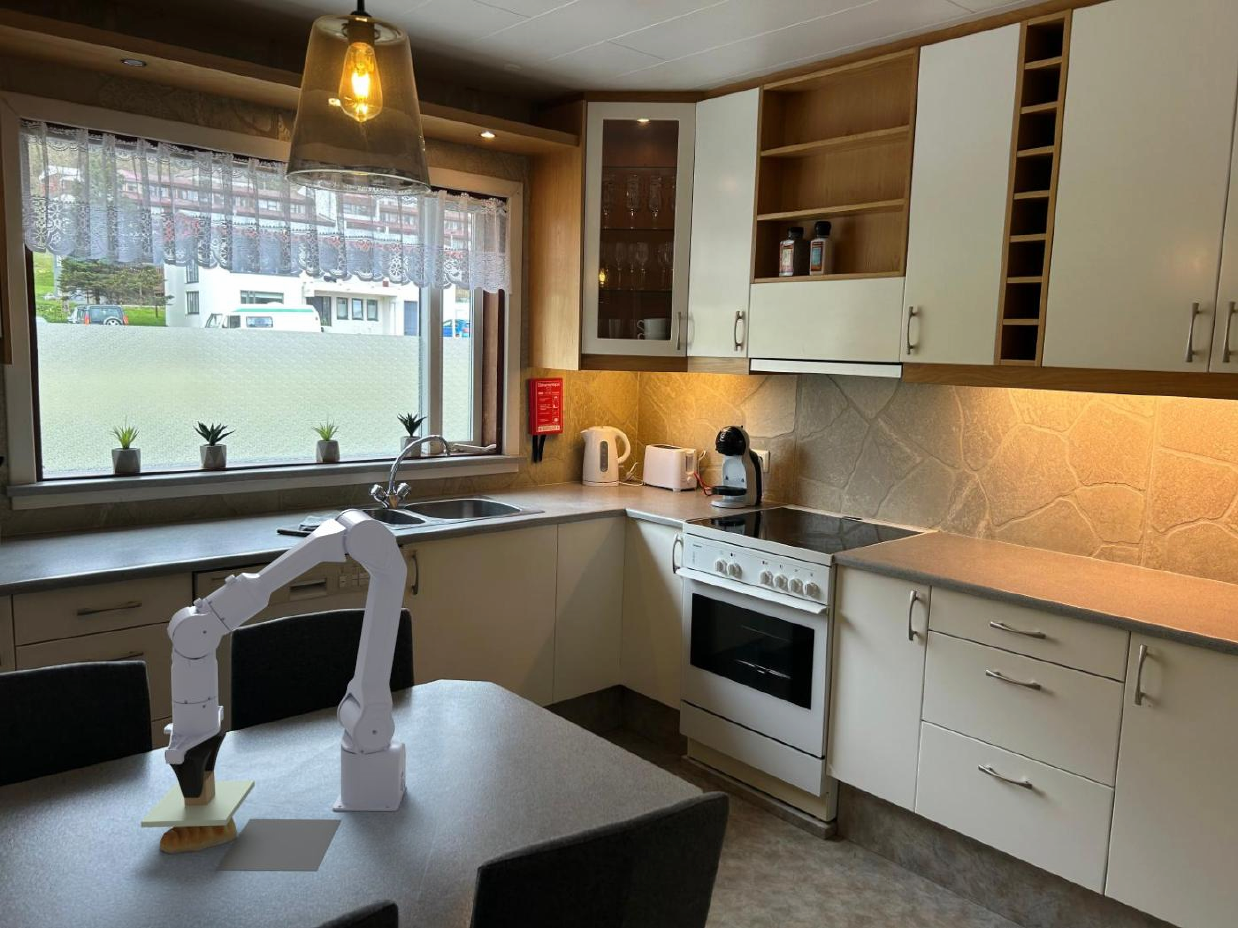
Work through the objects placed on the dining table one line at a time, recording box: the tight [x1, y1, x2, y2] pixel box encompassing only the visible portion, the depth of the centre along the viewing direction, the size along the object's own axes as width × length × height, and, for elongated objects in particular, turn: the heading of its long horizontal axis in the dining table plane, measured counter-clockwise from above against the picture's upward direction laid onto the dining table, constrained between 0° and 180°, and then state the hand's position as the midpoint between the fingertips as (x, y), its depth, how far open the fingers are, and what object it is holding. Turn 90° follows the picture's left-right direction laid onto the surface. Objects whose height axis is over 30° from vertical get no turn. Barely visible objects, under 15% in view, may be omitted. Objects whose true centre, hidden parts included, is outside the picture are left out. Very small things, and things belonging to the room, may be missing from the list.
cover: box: [140, 770, 256, 828], centre depth 126 cm, size 11×11×4 cm
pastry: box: [159, 816, 238, 855], centre depth 126 cm, size 9×7×4 cm
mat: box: [214, 818, 342, 872], centre depth 126 cm, size 13×13×1 cm
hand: (197, 790), depth 126 cm, fingers closed on cover, 3 cm apart
